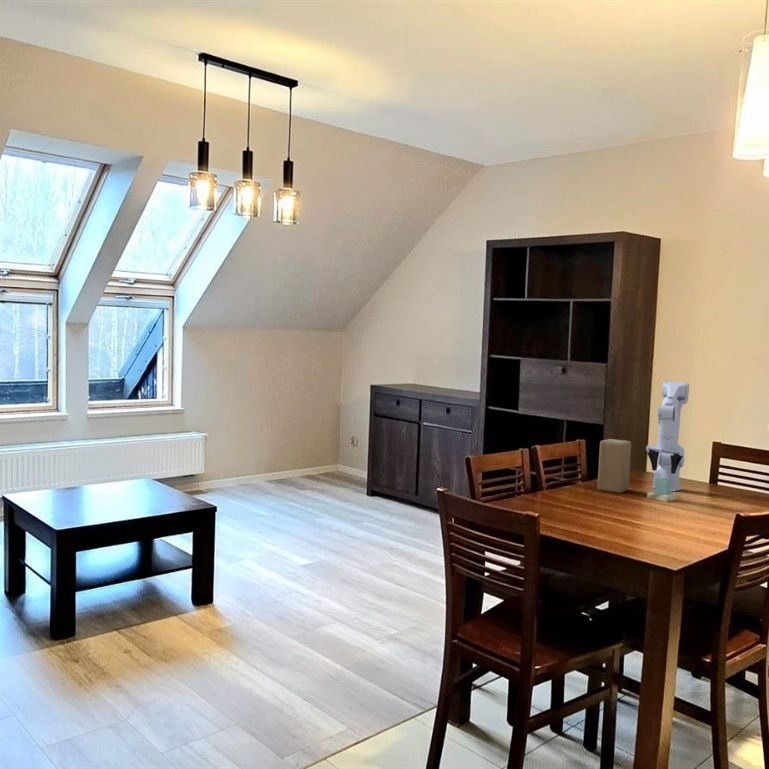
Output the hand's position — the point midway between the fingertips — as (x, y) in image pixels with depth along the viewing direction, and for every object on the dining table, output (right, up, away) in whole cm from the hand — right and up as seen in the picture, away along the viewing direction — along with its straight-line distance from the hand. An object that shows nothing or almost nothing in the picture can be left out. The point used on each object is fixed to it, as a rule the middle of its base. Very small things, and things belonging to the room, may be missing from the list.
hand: (663, 471), depth 295 cm
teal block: (0, -8, +1) cm, 8 cm away
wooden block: (-15, -9, +14) cm, 23 cm away
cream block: (0, -10, +1) cm, 10 cm away
